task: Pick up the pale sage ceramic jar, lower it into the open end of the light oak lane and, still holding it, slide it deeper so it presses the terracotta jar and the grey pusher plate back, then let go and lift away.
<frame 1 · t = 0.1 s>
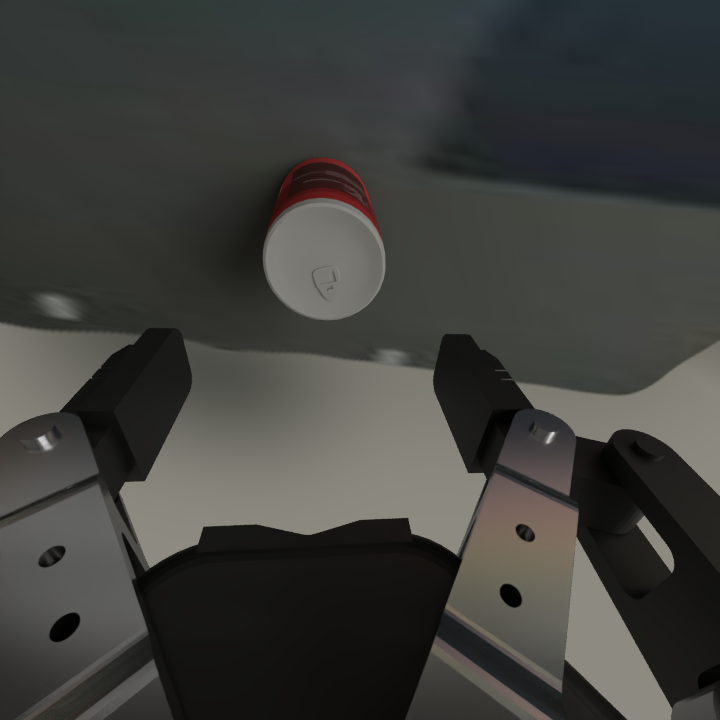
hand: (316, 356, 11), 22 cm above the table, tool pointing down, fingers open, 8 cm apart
canned food: (324, 206, 29), on the table
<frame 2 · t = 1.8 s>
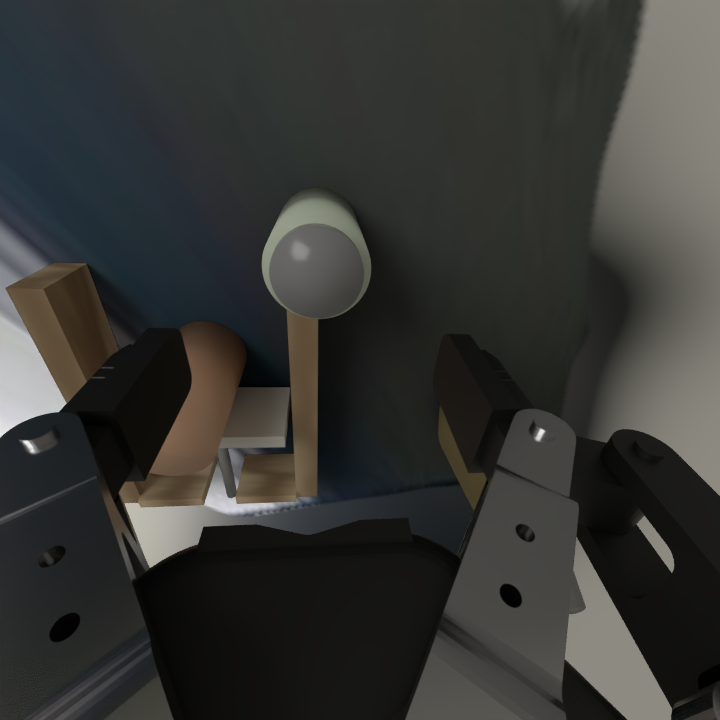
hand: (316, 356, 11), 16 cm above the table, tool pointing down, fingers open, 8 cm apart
lane: (215, 383, 31), on the table
sage jar: (318, 230, 24), on the table
pusher plate: (219, 463, 32), point 3 cm above the table, slide at 0.0 cm
terracotta jar: (209, 352, 29), on the table
squeeze bottle: (466, 401, 35), on the table
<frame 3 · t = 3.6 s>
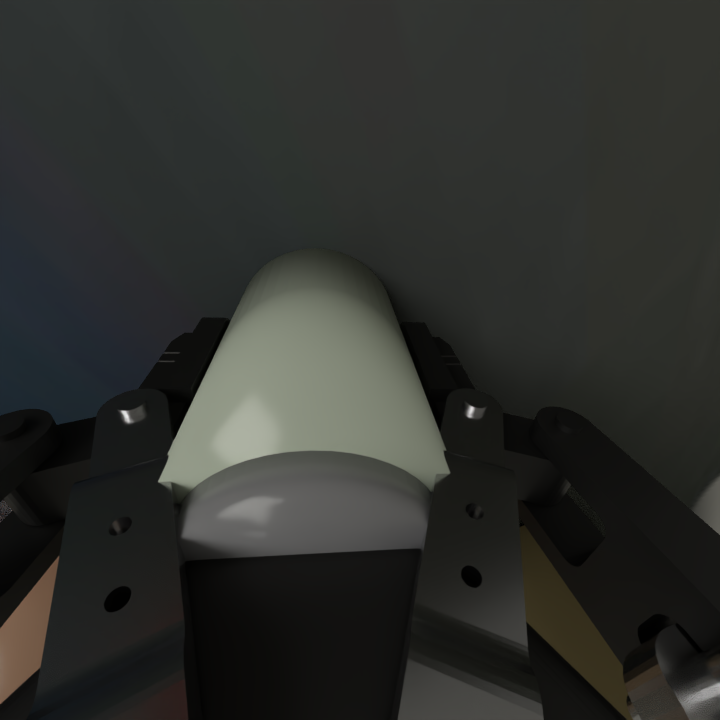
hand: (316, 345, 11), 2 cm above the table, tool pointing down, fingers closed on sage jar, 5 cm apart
sage jar: (318, 323, 13), on the table, touching gripper
terracotta jar: (137, 499, 17), on the table
squeeze bottle: (539, 534, 23), on the table
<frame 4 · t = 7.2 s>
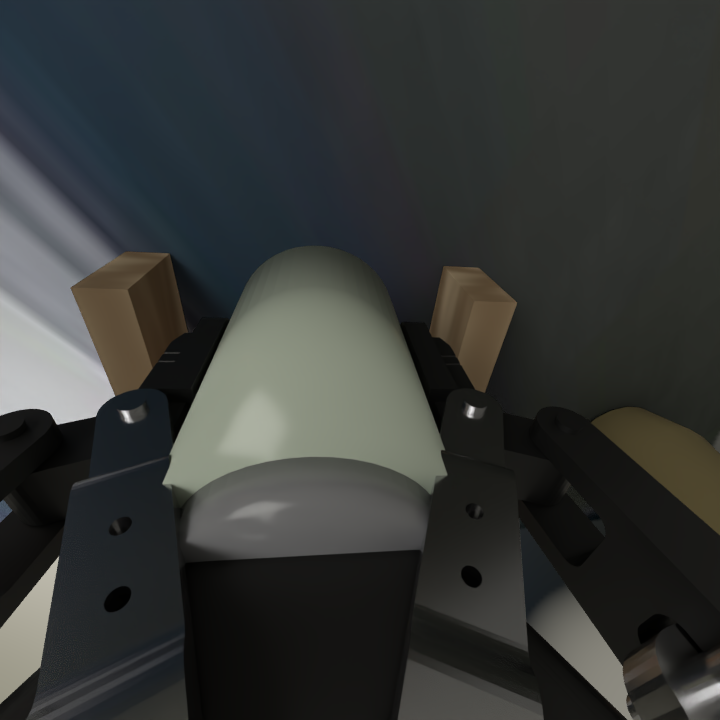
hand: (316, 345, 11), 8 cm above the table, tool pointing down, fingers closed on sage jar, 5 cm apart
lane: (312, 411, 24), on the table
sage jar: (317, 321, 13), point 6 cm above the table, touching gripper
squeeze bottle: (608, 430, 28), on the table
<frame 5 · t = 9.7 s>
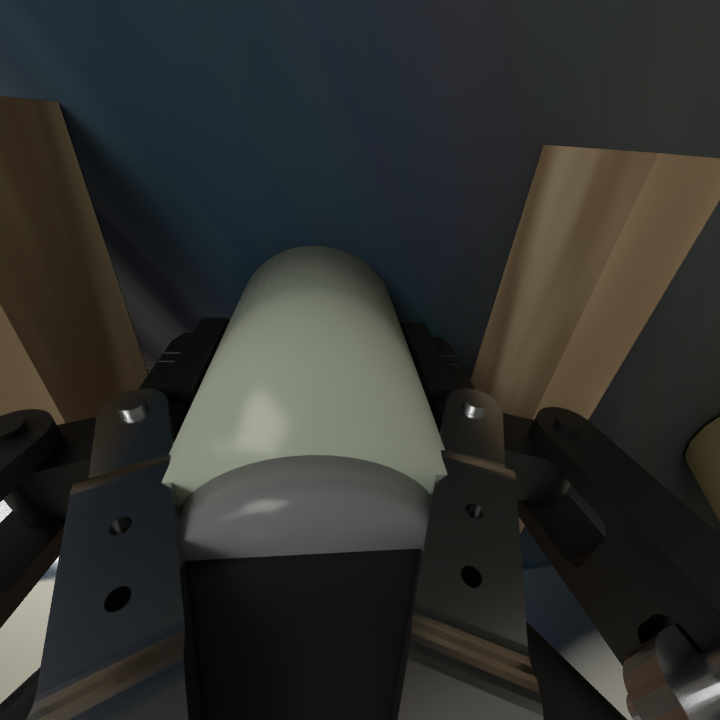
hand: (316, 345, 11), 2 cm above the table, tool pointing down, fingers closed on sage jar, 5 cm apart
lane: (317, 400, 16), on the table
sage jar: (318, 321, 13), point 1 cm above the table, touching gripper, terracotta jar
when the fingers open (2 cm above the table, at t = 10.8 s): sage jar stays where it is, on the table.
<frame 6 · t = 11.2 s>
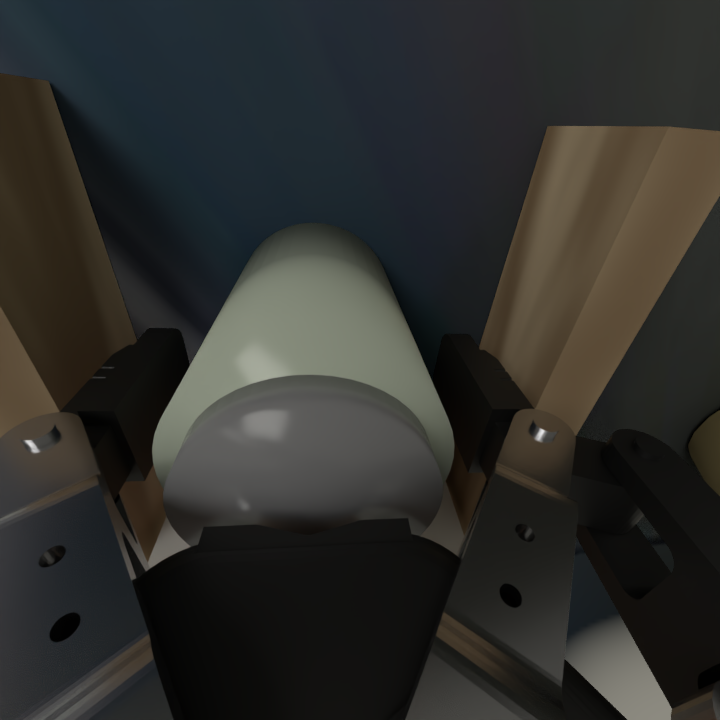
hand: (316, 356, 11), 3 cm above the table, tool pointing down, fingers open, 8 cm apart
lane: (317, 391, 16), on the table
sage jar: (316, 298, 13), on the table
pusher plate: (316, 582, 19), point 3 cm above the table, slide at 4.2 cm
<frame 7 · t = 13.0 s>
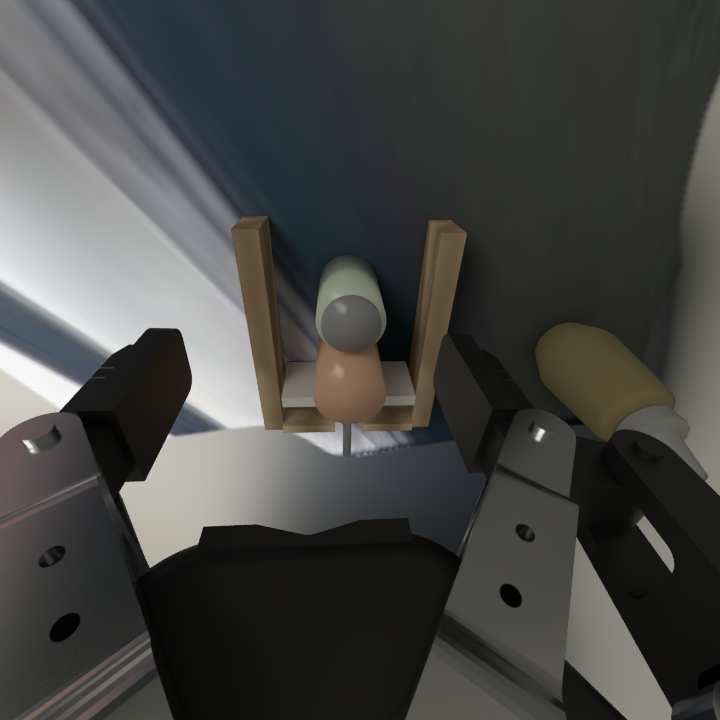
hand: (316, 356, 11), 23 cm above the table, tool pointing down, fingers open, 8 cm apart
lane: (348, 324, 36), on the table
sage jar: (348, 283, 33), on the table
pusher plate: (347, 423, 39), point 3 cm above the table, slide at 4.2 cm
terracotta jar: (346, 336, 37), on the table
squeeze bottle: (559, 343, 39), on the table
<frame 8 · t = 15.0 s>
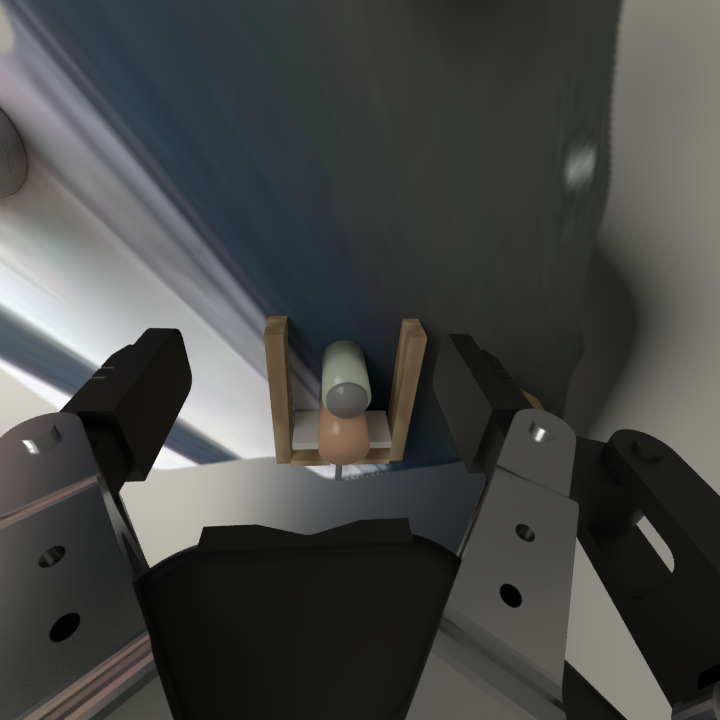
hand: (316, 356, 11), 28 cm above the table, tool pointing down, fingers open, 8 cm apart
lane: (342, 385, 47), on the table
sage jar: (343, 358, 45), on the table
pusher plate: (340, 457, 51), point 3 cm above the table, slide at 4.2 cm
terracotta jar: (340, 393, 48), on the table
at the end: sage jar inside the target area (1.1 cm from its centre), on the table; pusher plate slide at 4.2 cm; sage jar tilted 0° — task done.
